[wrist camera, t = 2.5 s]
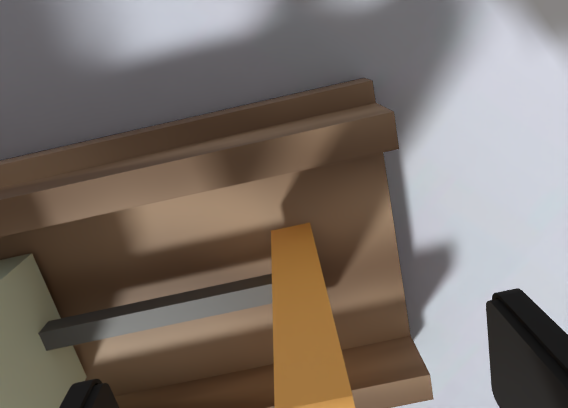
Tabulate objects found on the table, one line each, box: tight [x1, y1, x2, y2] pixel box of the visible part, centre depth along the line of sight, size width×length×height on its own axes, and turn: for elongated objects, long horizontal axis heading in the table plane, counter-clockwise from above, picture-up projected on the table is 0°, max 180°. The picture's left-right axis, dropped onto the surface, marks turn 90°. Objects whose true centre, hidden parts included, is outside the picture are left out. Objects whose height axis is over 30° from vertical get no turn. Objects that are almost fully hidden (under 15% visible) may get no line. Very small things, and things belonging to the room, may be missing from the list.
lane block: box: [0, 222, 355, 408], centre depth 14 cm, size 6×17×10 cm, turn 102°
